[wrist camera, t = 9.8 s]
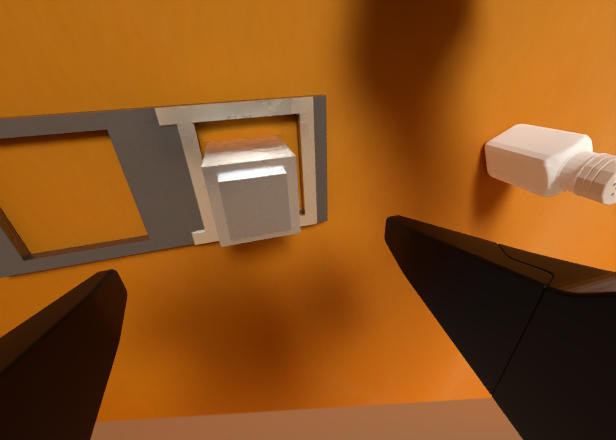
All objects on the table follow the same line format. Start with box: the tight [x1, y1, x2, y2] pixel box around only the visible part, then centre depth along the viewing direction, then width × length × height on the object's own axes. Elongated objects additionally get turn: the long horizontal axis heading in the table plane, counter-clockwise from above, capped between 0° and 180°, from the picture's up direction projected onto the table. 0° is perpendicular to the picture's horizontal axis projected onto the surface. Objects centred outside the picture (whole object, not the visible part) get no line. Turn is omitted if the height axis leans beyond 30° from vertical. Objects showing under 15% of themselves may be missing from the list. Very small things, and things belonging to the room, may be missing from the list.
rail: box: [0, 95, 327, 278], centre depth 19 cm, size 24×10×1 cm, turn 93°
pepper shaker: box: [484, 124, 616, 205], centre depth 22 cm, size 4×4×10 cm
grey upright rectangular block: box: [202, 135, 301, 247], centre depth 18 cm, size 5×5×7 cm
